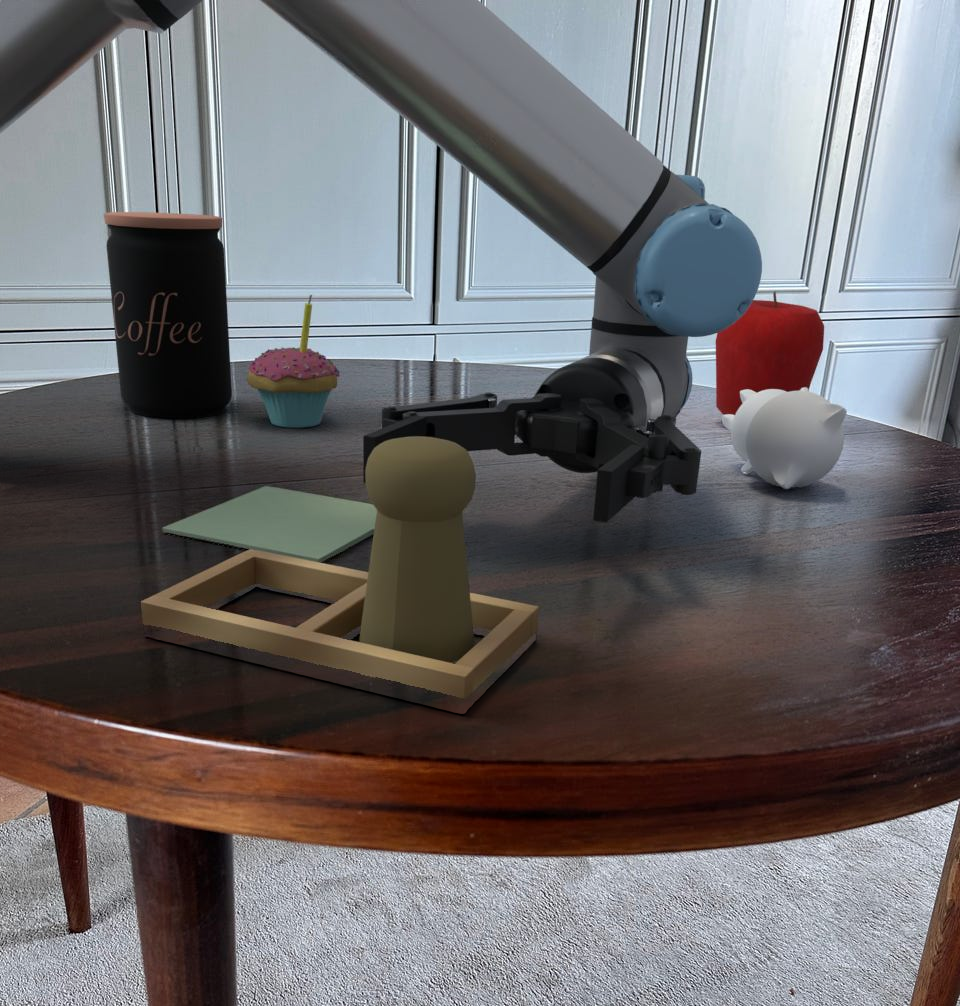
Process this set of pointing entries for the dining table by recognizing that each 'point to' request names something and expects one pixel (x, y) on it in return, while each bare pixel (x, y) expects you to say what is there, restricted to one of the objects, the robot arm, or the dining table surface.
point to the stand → (333, 622)
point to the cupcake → (294, 381)
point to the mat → (283, 523)
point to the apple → (767, 351)
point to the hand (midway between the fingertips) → (480, 477)
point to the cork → (419, 549)
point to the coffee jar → (170, 313)
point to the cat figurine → (787, 435)
